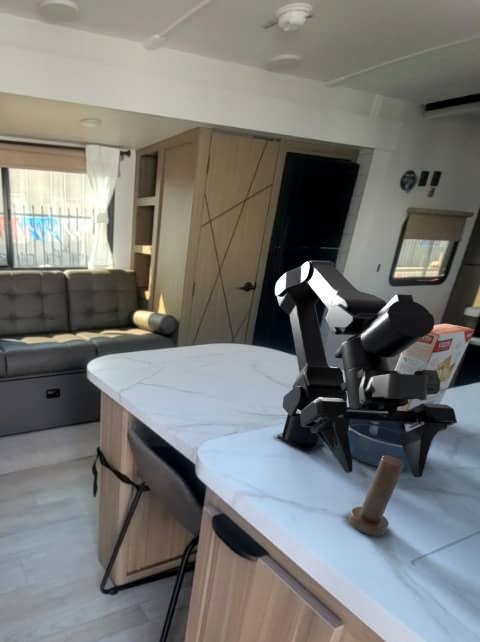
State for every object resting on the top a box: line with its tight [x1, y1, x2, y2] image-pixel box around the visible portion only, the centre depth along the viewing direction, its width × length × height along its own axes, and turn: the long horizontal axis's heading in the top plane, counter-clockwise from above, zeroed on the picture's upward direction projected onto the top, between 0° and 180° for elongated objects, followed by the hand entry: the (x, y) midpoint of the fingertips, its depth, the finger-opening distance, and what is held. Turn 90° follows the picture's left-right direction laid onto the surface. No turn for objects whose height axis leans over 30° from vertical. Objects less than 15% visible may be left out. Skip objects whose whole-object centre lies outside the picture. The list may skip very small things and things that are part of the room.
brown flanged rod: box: [348, 456, 405, 537], centre depth 56 cm, size 5×5×11 cm
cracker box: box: [394, 323, 475, 411], centre depth 88 cm, size 14×6×21 cm, turn 117°
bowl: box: [348, 416, 434, 471], centre depth 77 cm, size 15×15×5 cm
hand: (383, 474), depth 56 cm, fingers open, 9 cm apart
